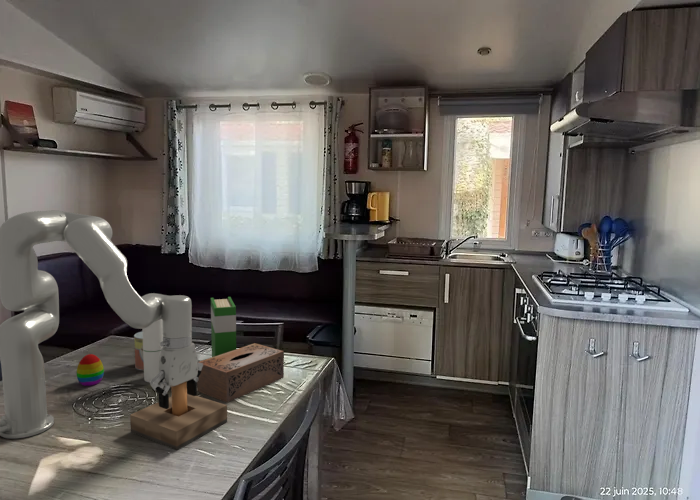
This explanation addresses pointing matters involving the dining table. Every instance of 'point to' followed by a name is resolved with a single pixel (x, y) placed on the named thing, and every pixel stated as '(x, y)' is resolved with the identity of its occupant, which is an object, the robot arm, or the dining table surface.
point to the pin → (179, 399)
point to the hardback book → (223, 326)
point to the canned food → (139, 351)
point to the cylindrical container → (152, 349)
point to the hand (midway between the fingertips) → (178, 401)
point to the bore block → (178, 422)
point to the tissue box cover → (240, 371)
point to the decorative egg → (90, 370)
